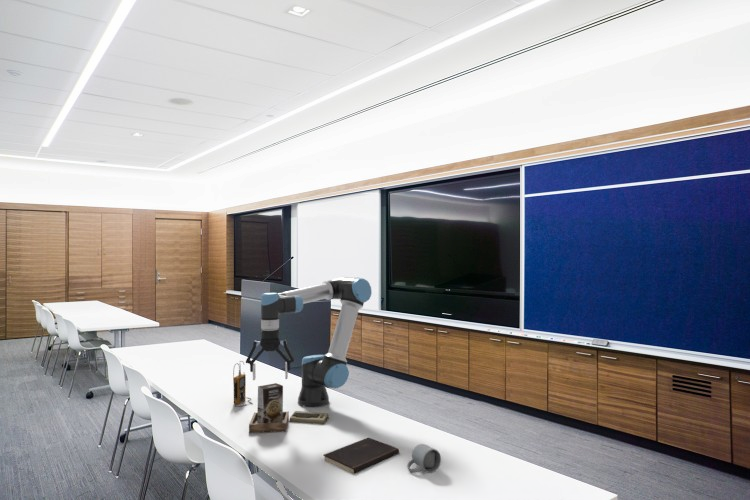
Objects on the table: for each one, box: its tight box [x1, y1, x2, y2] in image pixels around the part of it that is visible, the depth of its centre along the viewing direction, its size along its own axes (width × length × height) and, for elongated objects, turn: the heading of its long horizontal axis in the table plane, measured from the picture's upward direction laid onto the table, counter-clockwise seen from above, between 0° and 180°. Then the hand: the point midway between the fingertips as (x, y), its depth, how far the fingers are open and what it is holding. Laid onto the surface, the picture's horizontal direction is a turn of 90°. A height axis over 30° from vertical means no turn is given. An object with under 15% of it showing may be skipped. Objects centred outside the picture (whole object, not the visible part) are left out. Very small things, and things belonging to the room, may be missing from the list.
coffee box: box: [256, 382, 284, 423], centre depth 204 cm, size 9×6×16 cm
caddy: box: [248, 411, 290, 434], centre depth 204 cm, size 15×15×4 cm
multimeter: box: [232, 360, 253, 408], centre depth 236 cm, size 15×10×20 cm
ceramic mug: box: [406, 443, 442, 474], centre depth 164 cm, size 11×8×8 cm
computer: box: [289, 410, 330, 425], centre depth 212 cm, size 16×8×3 cm, turn 79°
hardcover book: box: [323, 437, 400, 474], centre depth 174 cm, size 16×23×2 cm
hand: (270, 378), depth 205 cm, fingers open, 13 cm apart
